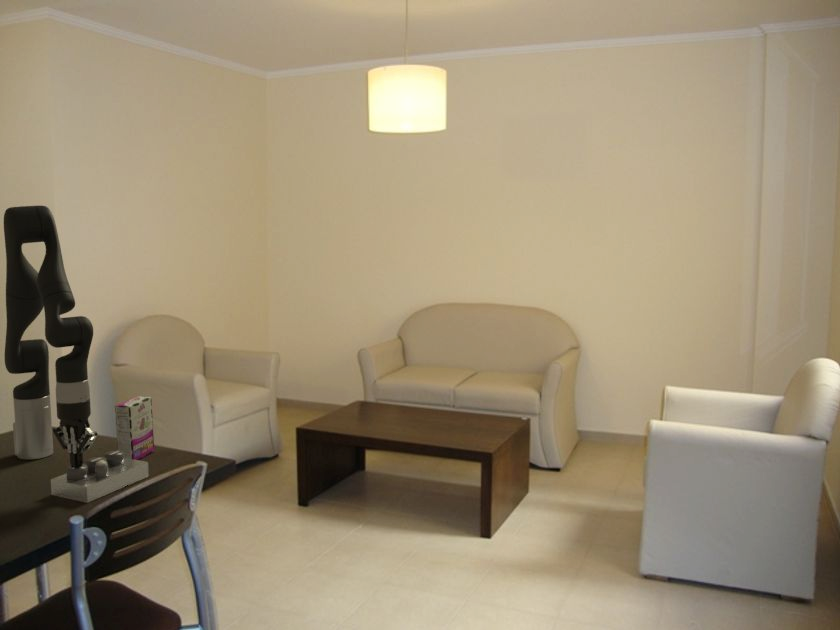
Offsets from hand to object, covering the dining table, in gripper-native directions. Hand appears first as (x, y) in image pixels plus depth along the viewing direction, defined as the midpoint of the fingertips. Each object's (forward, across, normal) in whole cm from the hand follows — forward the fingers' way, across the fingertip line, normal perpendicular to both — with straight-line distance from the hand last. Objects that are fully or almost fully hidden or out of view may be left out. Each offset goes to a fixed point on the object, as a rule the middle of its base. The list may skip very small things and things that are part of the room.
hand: (76, 466), depth 186 cm
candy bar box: (+7, -8, +27) cm, 29 cm away
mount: (+7, +1, +6) cm, 9 cm away
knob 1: (+6, 0, 0) cm, 6 cm away
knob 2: (+6, 0, +6) cm, 8 cm away
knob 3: (+6, 0, +12) cm, 13 cm away
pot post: (+3, +5, +3) cm, 6 cm away
